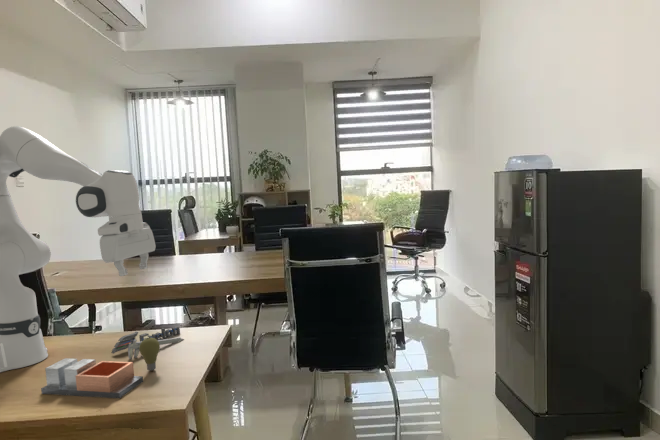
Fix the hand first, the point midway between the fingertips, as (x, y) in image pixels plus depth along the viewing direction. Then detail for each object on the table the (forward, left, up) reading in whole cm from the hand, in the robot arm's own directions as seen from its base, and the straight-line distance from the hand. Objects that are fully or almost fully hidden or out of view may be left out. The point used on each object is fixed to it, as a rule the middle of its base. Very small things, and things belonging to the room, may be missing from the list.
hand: (134, 272), depth 136 cm
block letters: (-12, +20, -30) cm, 38 cm away
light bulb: (+4, -1, -30) cm, 30 cm away
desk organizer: (-5, -13, -29) cm, 33 cm away
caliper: (-5, +16, -30) cm, 34 cm away
